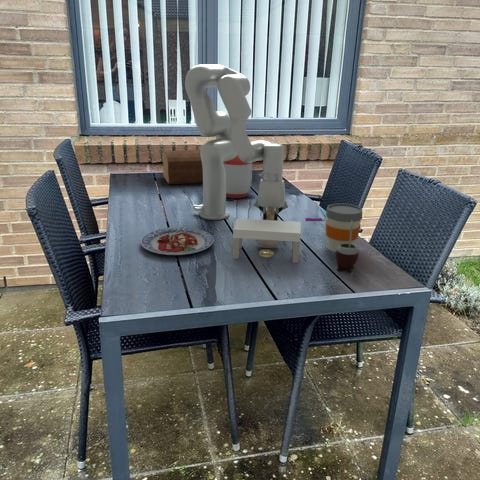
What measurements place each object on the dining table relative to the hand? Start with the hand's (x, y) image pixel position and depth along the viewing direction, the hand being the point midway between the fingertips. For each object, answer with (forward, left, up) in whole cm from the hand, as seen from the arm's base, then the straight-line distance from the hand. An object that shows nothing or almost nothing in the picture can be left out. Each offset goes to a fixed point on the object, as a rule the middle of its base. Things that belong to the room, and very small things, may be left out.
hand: (270, 222), depth 183 cm
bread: (-45, +70, -3) cm, 83 cm away
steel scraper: (0, -9, -3) cm, 9 cm away
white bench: (0, -25, -3) cm, 25 cm away
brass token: (0, -25, -3) cm, 25 cm away
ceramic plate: (-32, -21, -4) cm, 38 cm away
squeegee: (+19, +13, -4) cm, 24 cm away
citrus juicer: (-18, +45, -3) cm, 49 cm away
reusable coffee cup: (+26, -15, -3) cm, 30 cm away
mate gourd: (+26, -32, -3) cm, 41 cm away
